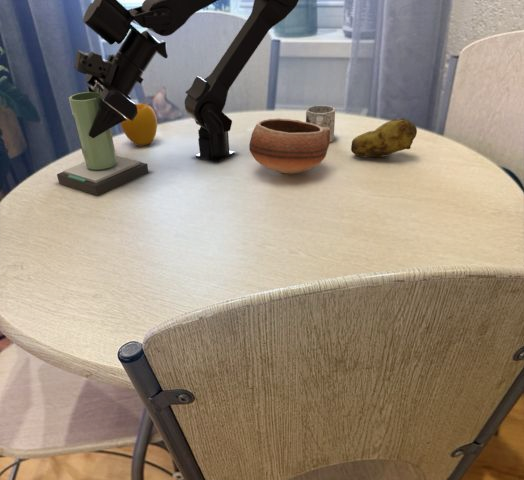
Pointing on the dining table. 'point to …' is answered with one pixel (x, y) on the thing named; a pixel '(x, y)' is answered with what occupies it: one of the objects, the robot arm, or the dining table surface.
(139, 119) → the apple
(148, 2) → the robot arm
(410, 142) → the potato
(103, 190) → the scale
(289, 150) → the bowl
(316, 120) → the mug
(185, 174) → the dining table surface
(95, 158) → the tumbler
